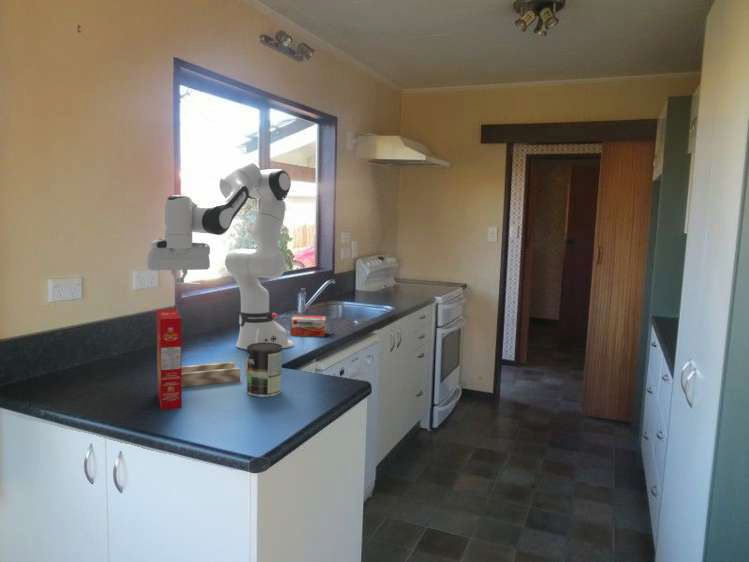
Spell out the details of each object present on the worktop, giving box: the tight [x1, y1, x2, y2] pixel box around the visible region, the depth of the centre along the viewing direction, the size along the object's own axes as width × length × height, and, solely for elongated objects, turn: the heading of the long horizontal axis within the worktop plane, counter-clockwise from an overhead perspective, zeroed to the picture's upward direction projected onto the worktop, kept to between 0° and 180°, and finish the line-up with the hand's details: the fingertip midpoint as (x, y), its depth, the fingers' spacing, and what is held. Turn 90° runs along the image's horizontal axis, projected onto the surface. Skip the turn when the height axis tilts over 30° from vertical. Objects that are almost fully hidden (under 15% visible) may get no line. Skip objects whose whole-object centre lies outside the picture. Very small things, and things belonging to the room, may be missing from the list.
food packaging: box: [156, 308, 183, 411], centre depth 160 cm, size 15×5×25 cm, turn 24°
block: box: [245, 358, 248, 375], centre depth 189 cm, size 5×5×5 cm
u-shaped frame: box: [181, 361, 241, 388], centre depth 181 cm, size 20×9×5 cm, turn 117°
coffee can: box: [246, 343, 283, 398], centre depth 171 cm, size 10×10×14 cm
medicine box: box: [290, 314, 328, 338], centre depth 254 cm, size 15×8×8 cm, turn 89°
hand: (179, 283), depth 195 cm, fingers closed
